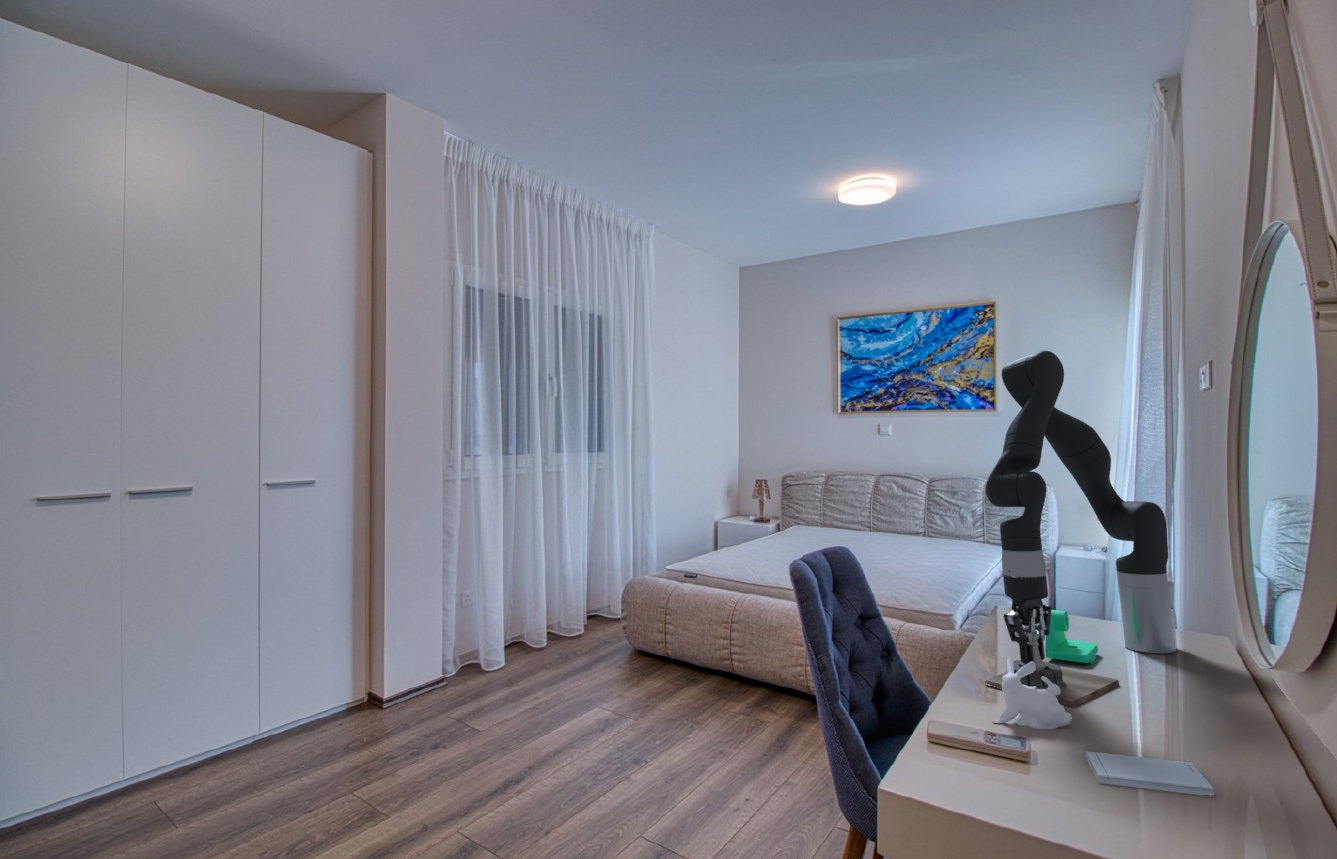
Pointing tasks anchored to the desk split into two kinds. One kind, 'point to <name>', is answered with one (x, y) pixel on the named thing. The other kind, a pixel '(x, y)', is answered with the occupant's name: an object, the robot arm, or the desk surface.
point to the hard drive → (1148, 773)
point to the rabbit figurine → (1031, 701)
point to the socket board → (1063, 683)
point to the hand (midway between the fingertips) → (1032, 660)
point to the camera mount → (1067, 642)
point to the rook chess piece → (1036, 653)
